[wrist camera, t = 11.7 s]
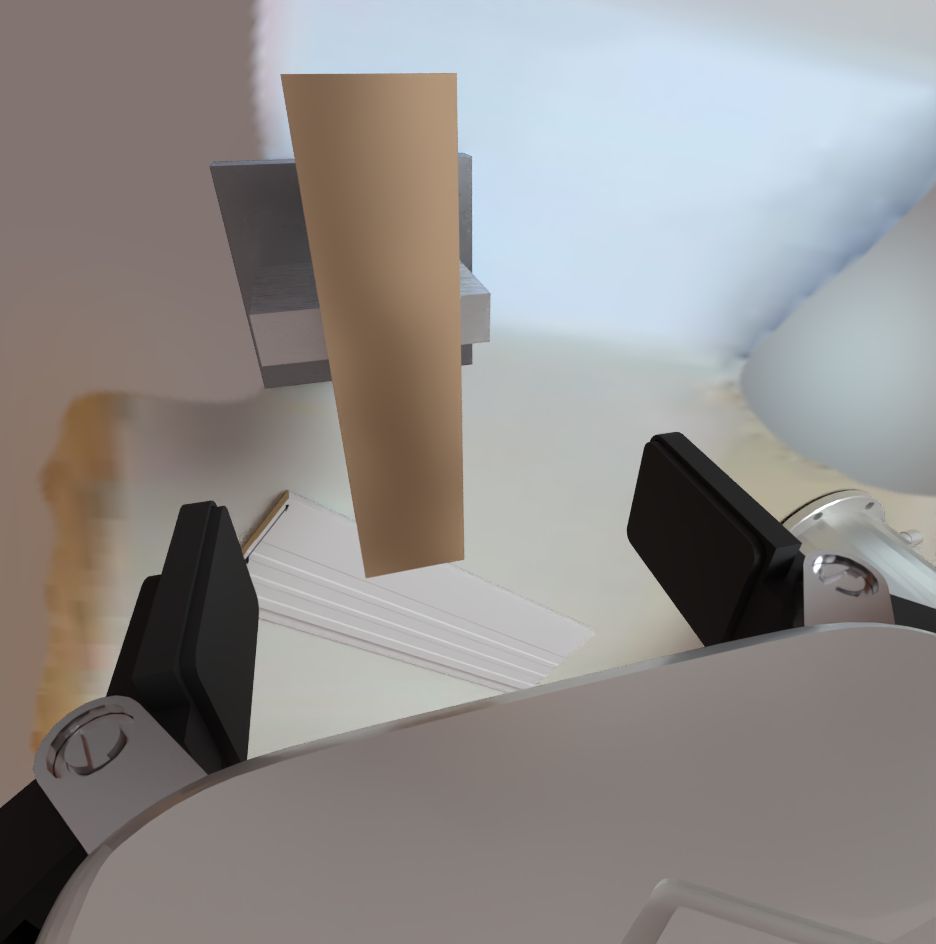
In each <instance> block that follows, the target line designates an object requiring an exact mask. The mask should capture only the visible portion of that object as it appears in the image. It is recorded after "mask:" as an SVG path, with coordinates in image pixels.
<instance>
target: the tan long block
mask: <svg viewBox="0 0 936 944" xmlns="http://www.w3.org/2000/svg"><path fill="white" fill-rule="evenodd" d="M281 80H282V86H283V92H284V98H285V104H286V110H287V116H288V122H289V128H290V134H291V140H292V145H293V151H294V157H295V163H296V169H297V175H298V181H299V187H300V193H301V199H302V205H303V211H304V216H305V222H306V228H307V234H308V240H309V246H310V252H311V258H312V264H313V270H314V276H315V282H316V287H317V293H318V299H319V305H320V311H321V317H322V323H323V329H324V335H325V341H326V347H327V353H328V358H329V364H330V370H331V376H332V382H333V388H334V394H335V400H336V406H337V412H338V418H339V424H340V430H341V435H342V441H343V447H344V453H345V459H346V465H347V471H348V477H349V483H350V489H351V495H352V501H353V506H354V512H355V518H356V524H357V530H358V536H359V542H360V548H361V554H362V560H363V566H364V572H365V577H366V578H371V577H376V576H381V575H386V574H392V573H397V572H402V571H407V570H412V569H418V568H423V567H428V566H433V565H438V564H444V563H449V562H454V561H459V560H464V516H463V452H462V388H461V324H460V260H459V195H458V131H457V73H411V74H281Z"/></svg>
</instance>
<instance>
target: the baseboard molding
mask: <svg viewBox="0 0 936 944" xmlns="http://www.w3.org/2000/svg"><path fill="white" fill-rule="evenodd" d="M241 550H242V553H243V556H244V559H245V562H246V565H247V568H248V571H249V574H250V577H251V580H252V583H253V585H254V588H255V591H256V594H257V598H258V604H259V618H261V619H265V620H268V621H271V622H275V623H278V624H281V625H285V626H288V627H291V628H295V629H298V630H301V631H305V632H308V633H311V634H315V635H318V636H321V637H325V638H328V639H331V640H335V641H338V642H341V643H345V644H348V645H351V646H355V647H358V648H361V649H365V650H368V651H371V652H374V653H378V654H381V655H384V656H388V657H391V658H394V659H398V660H401V661H404V662H408V663H411V664H414V665H418V666H421V667H424V668H428V669H431V670H434V671H438V672H441V673H444V674H448V675H451V676H454V677H458V678H461V679H464V680H468V681H471V682H474V683H478V684H481V685H484V686H488V687H491V688H494V689H498V690H501V691H504V692H508V693H511V692H515V691H519V690H523V689H527V688H532V687H535V685H536V684H537V683H538V682H539V681H540V680H542V679H544V678H545V677H546V675H547V674H548V673H550V672H551V671H552V670H553V669H555V668H557V667H558V665H559V664H560V663H561V662H562V661H563V660H565V659H566V658H568V657H569V656H570V655H572V654H573V653H574V652H575V651H576V650H577V649H579V648H580V647H581V646H582V645H583V644H584V643H585V642H587V641H588V640H589V639H590V638H591V637H592V636H593V635H595V632H594V630H593V629H592V628H591V627H589V626H587V625H585V624H583V623H581V622H578V621H576V620H574V619H572V618H569V617H567V616H565V615H563V614H561V613H558V612H556V611H554V610H552V609H550V608H547V607H545V606H543V605H541V604H538V603H536V602H534V601H532V600H530V599H527V598H525V597H523V596H521V595H519V594H516V593H514V592H512V591H510V590H507V589H505V588H503V587H501V586H499V585H496V584H494V583H492V582H490V581H487V580H485V579H483V578H481V577H479V576H476V575H474V574H472V573H470V572H468V571H465V570H463V569H461V568H459V567H456V566H454V565H452V564H450V563H444V564H438V565H433V566H428V567H423V568H418V569H412V570H407V571H402V572H397V573H392V574H386V575H381V576H376V577H371V578H366V577H365V572H364V566H363V560H362V554H361V548H360V542H359V536H358V530H357V524H356V521H354V520H352V519H350V518H348V517H346V516H343V515H341V514H339V513H337V512H335V511H332V510H330V509H328V508H326V507H323V506H321V505H319V504H317V503H315V502H312V501H310V500H308V499H306V498H303V497H301V496H299V495H297V494H295V493H292V492H290V491H288V490H287V492H286V493H285V494H284V495H283V497H282V498H281V499H280V501H279V502H278V503H277V504H276V506H275V507H274V508H273V510H272V511H271V512H270V513H269V515H268V516H267V517H266V519H265V520H264V521H263V522H262V524H261V525H260V526H259V528H258V529H257V530H256V531H255V533H254V534H253V535H252V537H251V538H250V539H249V540H248V542H247V543H246V544H245V546H244V547H243V548H242V549H241Z"/></svg>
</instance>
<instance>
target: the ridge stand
mask: <svg viewBox="0 0 936 944" xmlns="http://www.w3.org/2000/svg"><path fill="white" fill-rule="evenodd" d="M210 170H211V174H212V178H213V182H214V186H215V190H216V194H217V198H218V202H219V206H220V210H221V214H222V218H223V222H224V226H225V230H226V234H227V238H228V242H229V246H230V250H231V254H232V258H233V262H234V266H235V270H236V274H237V278H238V282H239V286H240V290H241V294H242V298H243V302H244V306H245V310H246V314H247V318H248V322H249V326H250V330H251V334H252V338H253V342H254V346H255V350H256V354H257V358H258V362H259V366H260V370H261V374H262V378H263V382H264V386H265V388H274V387H282V386H291V385H299V384H308V383H316V382H325V381H332V376H331V370H330V364H329V358H328V353H327V347H326V341H325V335H324V329H323V323H322V317H321V311H320V305H319V299H318V293H317V287H316V282H315V276H314V270H313V264H312V258H311V252H310V246H309V240H308V234H307V228H306V222H305V216H304V211H303V205H302V199H301V193H300V187H299V181H298V175H297V169H296V163H295V159H279V160H252V161H226V162H225V161H224V162H213V163H212V164H211V165H210ZM458 195H459V260H460V324H461V366H462V365H470V364H472V344H473V343H482V342H489V341H490V292H489V291H488V290H487V289H486V288H485V287H484V286H483V285H482V284H481V282H480V281H479V280H478V279H477V278H476V277H475V276H474V275H473V274H472V156H470V155H467V154H465V153H458Z"/></svg>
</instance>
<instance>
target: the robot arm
mask: <svg viewBox="0 0 936 944" xmlns="http://www.w3.org/2000/svg"><path fill="white" fill-rule="evenodd" d="M884 521H885V509H884V507H883V505H882V503H881V502H880V501H879V500H878V499H876V498H875V497H873V496H872V495H870V494H869V493H867V492H864V491H859V490H847V491H842V492H837V493H834V494H831V495H828V496H825V497H823V498H821V499H818V500H816V501H814V502H812V503H811V504H809V505H807V506H806V507H804V508H802V509H801V510H799V511H798V512H797V513H795V514H794V515H793V516H791V517H790V518H789V519H788V520H787V521H785V522H784V523H783V524H781V523H780V522H778V521H777V520H776V519H775V518H774V517H773V516H772V515H771V514H770V513H769V512H767V511H766V510H765V509H764V508H763V507H762V506H761V505H760V504H759V503H758V502H756V501H755V500H754V499H753V498H752V497H751V496H750V495H749V494H748V493H747V492H745V491H744V490H743V489H742V488H741V487H740V486H739V485H738V484H737V483H736V482H734V481H733V480H732V479H731V478H730V477H729V476H728V475H727V474H726V473H725V472H724V471H722V470H721V469H720V468H719V467H718V466H717V465H716V464H715V463H714V462H713V461H711V460H710V459H709V458H708V457H707V456H706V455H705V454H704V453H703V452H702V451H700V450H699V449H698V448H697V447H696V446H695V445H694V444H693V443H692V442H691V441H689V440H688V439H687V438H686V437H685V436H684V435H683V434H681V433H680V432H672V433H666V434H659V435H655V436H653V437H652V438H651V440H650V442H648V443H646V445H645V447H644V451H643V456H642V460H641V465H640V470H639V474H638V479H637V484H636V488H635V493H634V498H633V502H632V507H631V512H630V516H629V521H628V526H627V536H628V539H629V541H630V543H631V545H632V546H633V547H634V549H635V550H636V552H637V553H638V554H639V556H640V557H641V559H642V560H643V561H644V563H645V564H646V565H647V567H648V568H649V570H650V571H651V572H652V574H653V575H654V577H655V578H656V579H657V581H658V582H659V584H660V585H661V586H662V588H663V589H664V590H665V592H666V593H667V595H668V596H669V597H670V599H671V600H672V602H673V603H674V604H675V606H676V607H677V608H678V610H679V611H680V613H681V614H682V615H683V617H684V618H685V620H686V621H687V622H688V624H689V625H690V626H691V628H692V629H693V631H694V632H695V633H696V635H697V636H698V638H699V639H700V640H701V642H702V643H703V645H704V646H705V647H703V648H699V649H695V650H690V651H686V652H682V653H677V654H673V655H669V656H664V657H660V658H656V659H651V660H647V661H643V662H638V663H634V664H629V665H625V666H621V667H617V668H612V669H608V670H604V671H600V672H595V673H591V674H587V675H583V676H578V677H574V678H570V679H566V680H561V681H557V682H553V683H549V684H544V685H540V686H536V687H532V688H527V689H523V690H519V691H515V692H511V693H506V694H502V695H498V696H494V697H489V698H485V699H481V700H477V701H473V702H469V703H465V704H460V705H456V706H452V707H448V708H444V709H440V710H436V711H431V712H427V713H423V714H419V715H415V716H411V717H407V718H402V719H398V720H394V721H390V722H386V723H382V724H378V725H373V726H370V727H366V728H362V729H358V730H354V731H350V732H346V733H342V734H339V735H335V736H331V737H327V738H323V739H319V740H315V741H311V742H307V743H304V744H300V745H296V746H292V747H288V748H285V749H282V750H279V751H275V752H272V753H269V754H265V755H262V756H259V757H255V758H252V759H249V760H247V753H248V741H249V729H250V717H251V705H252V692H253V680H254V668H255V656H256V644H257V632H258V619H259V604H258V598H257V594H256V591H255V588H254V585H253V583H252V580H251V577H250V574H249V571H248V568H247V565H246V562H245V559H244V556H243V553H242V550H241V547H240V544H239V542H238V539H237V536H236V533H235V530H234V527H233V524H232V521H231V518H230V515H229V512H228V510H227V508H226V506H220V507H217V505H216V503H215V502H214V501H205V502H199V503H192V504H185V505H183V506H182V507H181V509H180V512H179V515H178V519H177V522H176V526H175V529H174V533H173V536H172V540H171V543H170V546H169V550H168V553H167V557H166V560H165V564H164V567H163V571H162V574H161V575H155V576H149V577H147V578H146V579H145V580H144V582H143V584H142V586H141V590H140V593H139V596H138V599H137V602H136V605H135V608H134V611H133V614H132V617H131V621H130V624H129V627H128V630H127V633H126V636H125V639H124V642H123V645H122V649H121V652H120V655H119V658H118V661H117V664H116V667H115V670H114V673H113V676H112V680H111V683H110V686H109V689H108V692H107V695H106V697H102V698H99V699H96V700H94V701H91V702H88V703H86V704H84V705H82V706H80V707H79V708H77V709H75V710H74V711H72V712H70V713H69V714H67V715H66V716H65V717H64V718H63V719H62V720H60V721H59V722H58V723H57V724H56V725H55V726H54V727H53V728H52V729H51V730H50V732H49V733H48V734H47V735H46V737H45V738H44V739H43V740H42V742H41V744H40V746H39V748H38V751H37V753H36V755H35V759H34V767H33V771H34V774H35V777H36V779H35V780H33V781H32V782H31V783H30V784H29V785H27V786H26V787H25V788H24V789H23V790H22V791H20V792H19V793H18V794H17V795H15V796H14V797H13V798H12V799H11V800H10V801H8V802H7V803H6V804H5V805H3V806H2V807H1V808H0V944H936V566H934V565H933V564H932V563H930V562H929V561H928V560H926V559H925V558H924V557H923V553H922V551H921V550H920V549H919V548H918V547H917V546H915V545H918V544H920V543H922V541H923V536H922V534H921V533H920V532H919V531H917V530H910V531H905V532H901V533H898V532H897V531H895V530H894V529H893V528H891V527H890V526H889V525H887V524H886V523H885V522H884Z"/></svg>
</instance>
